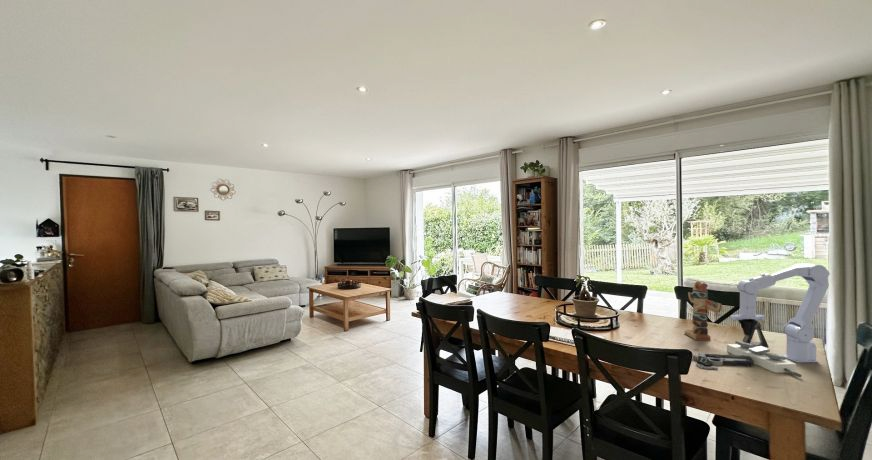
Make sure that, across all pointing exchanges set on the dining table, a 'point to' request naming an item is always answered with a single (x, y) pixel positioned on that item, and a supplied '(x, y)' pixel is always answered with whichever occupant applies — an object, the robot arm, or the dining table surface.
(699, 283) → the totem pole
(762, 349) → the rocker
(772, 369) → the power strip
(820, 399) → the dining table surface
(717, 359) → the firearm
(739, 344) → the rocker
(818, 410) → the dining table surface
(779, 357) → the rocker
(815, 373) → the dining table surface
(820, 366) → the dining table surface
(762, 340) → the dark grey a-frame stand
